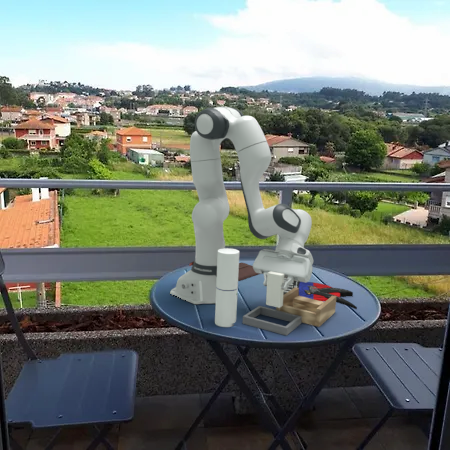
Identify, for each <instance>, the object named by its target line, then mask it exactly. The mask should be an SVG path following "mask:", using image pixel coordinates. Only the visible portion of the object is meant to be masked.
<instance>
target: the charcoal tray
mask: <svg viewBox="0 0 450 450" xmlns="http://www.w3.org/2000/svg"><path fill="white" fill-rule="evenodd" d="M260 315H263V316H266V317H271V318H274V319H278V320H283V321H286V322H289V323H287V325H283V324H278V323H275V322H270V321H267V320H263V319H259V318H256V317H258V316H260ZM301 321H302V316H298V315H294V314H290V313H286V312H282V311H278V310H276V309H275V308H274V309H273V308H270V307H267V306H262V305H258V306H257V307H256V308H254V309H252V310H251V311H249V312H247V313H246V314H244V315H243V316H242V324H243V325H246V326H250V327H253V328H257V329H260V330H261V329H262V330H264V331H268V332H272V333H276V334H279V335H283V336H288V335H290V334H291V333H292V332H293V331H294V330H295V329H297V328H298V327H299V326H300V325H301V324H302V322H301Z"/></svg>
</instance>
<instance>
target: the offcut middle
mask: <svg viewBox="0 0 450 450" xmlns="http://www.w3.org/2000/svg"><path fill="white" fill-rule="evenodd" d="M293 307H296V308H300V309H305V310H309V311H314V312H316V308H313V307H309V306H305V305H301V304H298V303H293Z"/></svg>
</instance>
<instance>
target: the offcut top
mask: <svg viewBox="0 0 450 450" xmlns="http://www.w3.org/2000/svg"><path fill="white" fill-rule="evenodd" d="M324 302H325V301H318V300H314V299H310V298H306V297H303V296H297V297H295V298H294V303H298V304H301V305H305V306H309V307H313V308H316V309H317V308H318V307H319V306H320V305H322V304H323V303H324Z"/></svg>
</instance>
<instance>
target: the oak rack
mask: <svg viewBox="0 0 450 450" xmlns="http://www.w3.org/2000/svg"><path fill="white" fill-rule="evenodd" d="M298 293H299V288H296V287H295V288H293V289H292V290H290V291H289V292H287V293H286V294H284V295H283V306H282V307H280V308H278V307H275V310H278V311H282V312H286V313H290V314H294V315H298V316H302V321H301V324H302V323H303V324H307V325H310V326H314V327H318V328H320V327H322V325H323V324H324V323H326V321H328V319H330V318H331V317H332V316H333V315H334V314H335V313H336V307H337V306H336V305H337V302H336V297H337V296H331V297H330V298H329V299H328V300H326V301H323V302H324V303H323V304H322V305H320V306H319V307H318V308H317V309H316V313H315V312H311V311H307V310H303V309H299V308H295V307H293V303H294V298H295V297H297V296H298Z"/></svg>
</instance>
